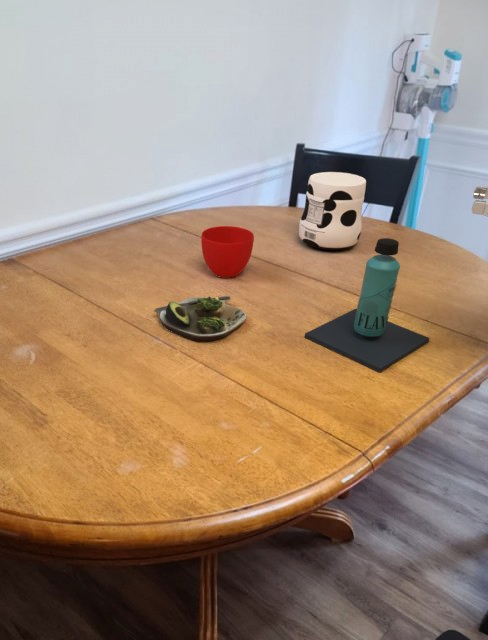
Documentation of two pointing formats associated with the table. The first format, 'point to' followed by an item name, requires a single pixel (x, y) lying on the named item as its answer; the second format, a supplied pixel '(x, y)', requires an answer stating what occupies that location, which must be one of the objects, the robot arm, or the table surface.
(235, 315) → the salad plate
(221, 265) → the ceramic cup
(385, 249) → the beverage bottle
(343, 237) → the milk container
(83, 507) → the table surface
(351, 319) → the mat
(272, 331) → the table surface
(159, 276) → the table surface
